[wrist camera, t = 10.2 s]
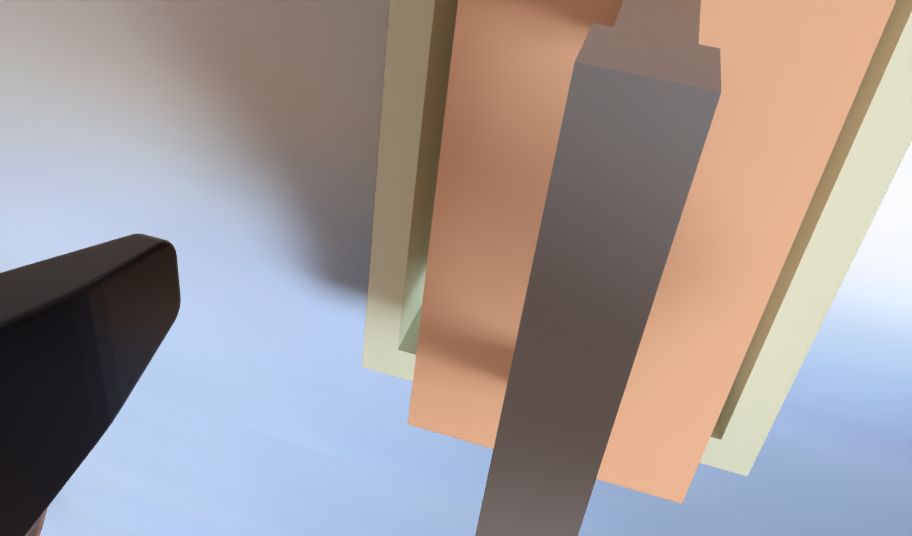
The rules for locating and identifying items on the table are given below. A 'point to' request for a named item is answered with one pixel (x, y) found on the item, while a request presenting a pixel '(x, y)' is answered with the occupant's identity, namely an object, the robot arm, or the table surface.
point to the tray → (797, 288)
